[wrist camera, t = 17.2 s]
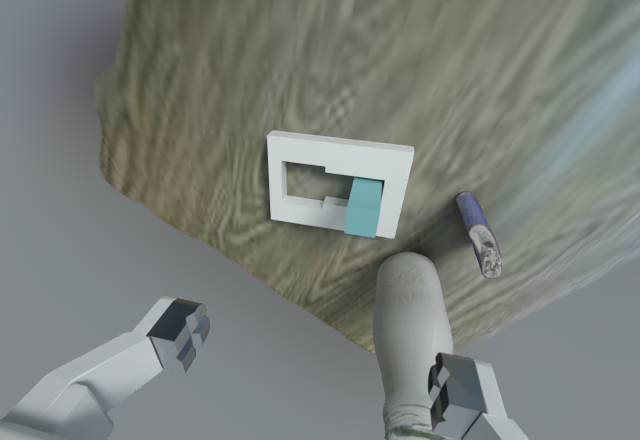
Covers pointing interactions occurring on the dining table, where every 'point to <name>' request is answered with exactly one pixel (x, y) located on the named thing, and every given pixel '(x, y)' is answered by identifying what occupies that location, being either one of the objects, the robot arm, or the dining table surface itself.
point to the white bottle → (409, 342)
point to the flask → (480, 235)
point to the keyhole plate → (338, 159)
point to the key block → (363, 207)
